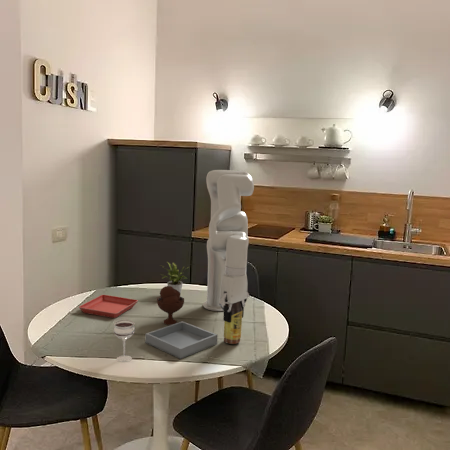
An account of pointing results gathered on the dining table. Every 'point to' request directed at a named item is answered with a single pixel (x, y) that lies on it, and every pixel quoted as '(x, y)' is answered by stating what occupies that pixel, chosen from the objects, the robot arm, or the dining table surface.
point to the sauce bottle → (233, 325)
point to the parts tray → (181, 339)
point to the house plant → (174, 277)
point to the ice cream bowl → (170, 303)
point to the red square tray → (108, 306)
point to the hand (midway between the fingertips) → (233, 318)
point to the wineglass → (124, 335)
